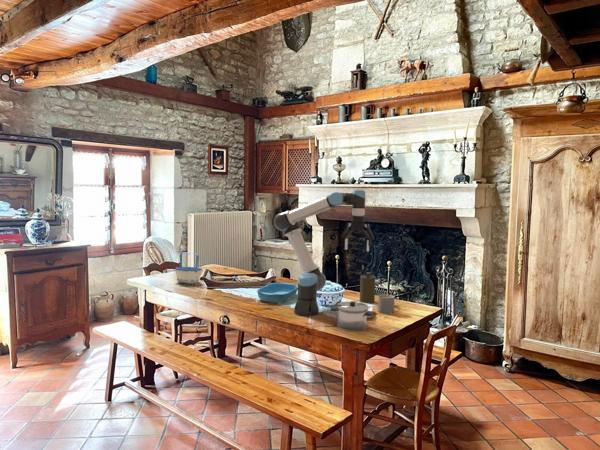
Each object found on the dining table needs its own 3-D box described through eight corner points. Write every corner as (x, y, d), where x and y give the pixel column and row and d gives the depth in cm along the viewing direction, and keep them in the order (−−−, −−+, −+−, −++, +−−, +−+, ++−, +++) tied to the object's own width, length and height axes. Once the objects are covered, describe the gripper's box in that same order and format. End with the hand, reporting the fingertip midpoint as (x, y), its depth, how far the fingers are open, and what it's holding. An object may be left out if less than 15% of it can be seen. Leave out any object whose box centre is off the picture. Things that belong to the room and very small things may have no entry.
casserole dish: (282, 305, 271) (283, 294, 270) (251, 301, 278) (251, 291, 278) (302, 294, 305) (302, 284, 305) (273, 290, 313) (274, 281, 312)
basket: (204, 283, 331) (205, 253, 329) (187, 286, 318) (187, 255, 316) (188, 279, 344) (189, 250, 342) (171, 282, 331) (171, 252, 329)
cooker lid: (332, 309, 226) (333, 303, 226) (342, 302, 242) (342, 296, 242) (363, 314, 220) (364, 307, 219) (371, 306, 236) (371, 300, 236)
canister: (374, 303, 283) (375, 274, 281) (358, 302, 285) (360, 273, 283) (374, 300, 293) (376, 271, 292) (359, 298, 295) (361, 270, 294)
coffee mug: (392, 314, 257) (393, 298, 256) (376, 312, 261) (376, 296, 260) (396, 309, 269) (396, 294, 269) (380, 307, 273) (381, 292, 272)
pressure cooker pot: (326, 326, 229) (327, 308, 228) (336, 319, 243) (336, 302, 243) (369, 333, 220) (369, 314, 219) (375, 325, 234) (376, 307, 234)
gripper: (380, 216, 253) (378, 251, 255) (340, 214, 263) (339, 248, 264) (377, 216, 246) (375, 252, 248) (336, 214, 256) (335, 249, 257)
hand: (356, 250), depth 256 cm, fingers open, 13 cm apart
